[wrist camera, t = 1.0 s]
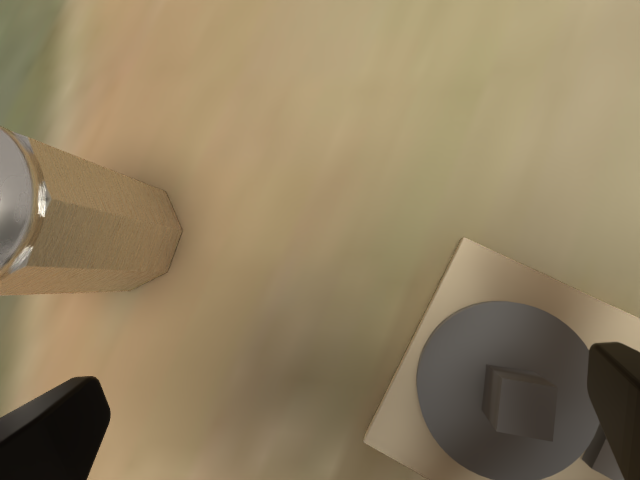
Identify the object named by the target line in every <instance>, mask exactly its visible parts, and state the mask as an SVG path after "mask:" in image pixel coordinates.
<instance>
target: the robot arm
mask: <svg viewBox="0 0 640 480" xmlns="http://www.w3.org/2000/svg"><path fill="white" fill-rule="evenodd" d="M587 390H588V395H589V398H590V400H591V403H592V405H593V408H594V410H595V412H596V415H597V417H598V419H599V422H600V424H601V426H602V429H603V431H604V434H605V436H606V438H607V441H608V443H609V445H610V448H611V450H612V452H613V455H614V457H615V460H616V462H617V464H618V467H619V469H620V471H621V474H622V476H623V478H624V480H640V352H639V351H637V350H635V349H633V348H631V347H629V346H627V345H625V344H622V343H620V342H603V343H594V344H593V345H591V347H590V349H589V357H588V372H587ZM110 414H111V413H110V408H109V405H108V402H107V400H106V397H105V395H104V392H103V390H102V387H101V384H100V382H99V380H98V379H97V378H96V377H93V376H84V377H74V378H72V379H70V380H68V381H66V382H64V383H62V384H61V385H59V386H57V387H55V388H53V389H52V390H50V391H48V392H46V393H44V394H43V395H41V396H39V397H37V398H35V399H34V400H32V401H30V402H28V403H26V404H24V405H23V406H21V407H19V408H17V409H15V410H14V411H12V412H10V413H8V414H6V415H5V416H3V417H1V418H0V480H87V478H88V475H89V473H90V470H91V467H92V465H93V462H94V460H95V457H96V455H97V452H98V450H99V447H100V445H101V442H102V440H103V437H104V435H105V432H106V430H107V427H108V425H109V422H110Z"/></svg>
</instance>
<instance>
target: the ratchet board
mask: <svg viewBox="0 0 640 480" xmlns="http://www.w3.org/2000/svg"><path fill="white" fill-rule="evenodd" d="M603 342H620V343H622V344H625V345H627V346H629V347H631V348H633V349H635V350H637V351H639V352H640V318H638V317H636V316H634V315H632V314H629V313H627V312H625V311H623V310H621V309H619V308H616V307H614V306H612V305H610V304H608V303H606V302H603V301H601V300H599V299H597V298H595V297H593V296H591V295H588V294H586V293H584V292H582V291H580V290H578V289H575V288H573V287H571V286H569V285H567V284H565V283H562V282H560V281H558V280H556V279H554V278H552V277H549V276H547V275H545V274H543V273H541V272H539V271H536V270H534V269H532V268H530V267H528V266H526V265H524V264H521V263H519V262H517V261H515V260H513V259H511V258H508V257H506V256H504V255H502V254H500V253H498V252H495V251H493V250H491V249H489V248H487V247H485V246H482V245H480V244H478V243H476V242H474V241H472V240H470V239H467V238H465V237H463V238H462V239H461V240H460V242H459V244H458V246H457V248H456V250H455V252H454V254H453V256H452V258H451V260H450V263H449V265H448V267H447V269H446V271H445V273H444V275H443V277H442V279H441V281H440V283H439V285H438V287H437V289H436V291H435V293H434V295H433V297H432V299H431V301H430V303H429V305H428V307H427V309H426V311H425V313H424V315H423V317H422V319H421V321H420V323H419V325H418V328H417V330H416V332H415V334H414V336H413V338H412V340H411V342H410V344H409V346H408V348H407V350H406V352H405V354H404V356H403V358H402V360H401V362H400V364H399V366H398V368H397V370H396V372H395V374H394V376H393V378H392V380H391V382H390V384H389V386H388V388H387V390H386V393H385V395H384V397H383V399H382V401H381V403H380V405H379V407H378V409H377V411H376V413H375V415H374V417H373V419H372V421H371V423H370V425H369V427H368V429H367V431H366V433H365V436H364V441H363V442H364V443H365V444H367V445H369V446H371V447H372V448H374V449H376V450H378V451H379V452H381V453H383V454H385V455H387V456H388V457H390V458H392V459H394V460H395V461H397V462H399V463H401V464H402V465H404V466H406V467H408V468H409V469H411V470H413V471H415V472H416V473H418V474H420V475H422V476H423V477H425V478H427V479H429V480H624V478H623V476H622V474H621V471H620V469H619V467H618V464H617V462H616V460H615V457H614V455H613V452H612V450H611V448H610V445H609V443H608V441H607V438H606V436H605V434H604V431H603V429H602V426H601V424H600V422H599V419H598V417H597V415H596V412H595V410H594V408H593V405H592V403H591V400H590V398H589V395H588V390H587V372H588V357H589V349H590V347H591V345H593V344H594V343H603Z"/></svg>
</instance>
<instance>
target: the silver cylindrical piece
mask: <svg viewBox="0 0 640 480" xmlns="http://www.w3.org/2000/svg"><path fill="white" fill-rule="evenodd" d="M181 233H182V228H181V226H180V224H179V221H178V219H177V217H176V214H175V212H174V210H173V207H172V205H171V202H170V200H169V198H168V195H167V193H166V192H165V191H163V190H160V189H158V188H155V187H153V186H150V185H148V184H145V183H143V182H140V181H138V180H135V179H133V178H130V177H128V176H125V175H123V174H120V173H117V172H115V171H112V170H110V169H107V168H105V167H102V166H100V165H97V164H95V163H92V162H90V161H87V160H85V159H82V158H80V157H77V156H74V155H72V154H69V153H67V152H64V151H62V150H59V149H57V148H54V147H52V146H49V145H47V144H44V143H42V142H39V141H37V140H34V139H32V138H29V137H26V136H23V135H20V134H17V133H15V132H12V131H10V130H9V129H6V128H4V127H2V126H0V295H29V294H59V293H89V292H119V291H131V290H133V289H135V288H137V287H139V286H141V285H143V284H145V283H147V282H149V281H151V280H153V279H155V278H157V277H159V276H161V275H163V274H165V273H167V271H168V269H169V266H170V263H171V260H172V258H173V255H174V252H175V249H176V247H177V244H178V241H179V238H180V236H181Z"/></svg>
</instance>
